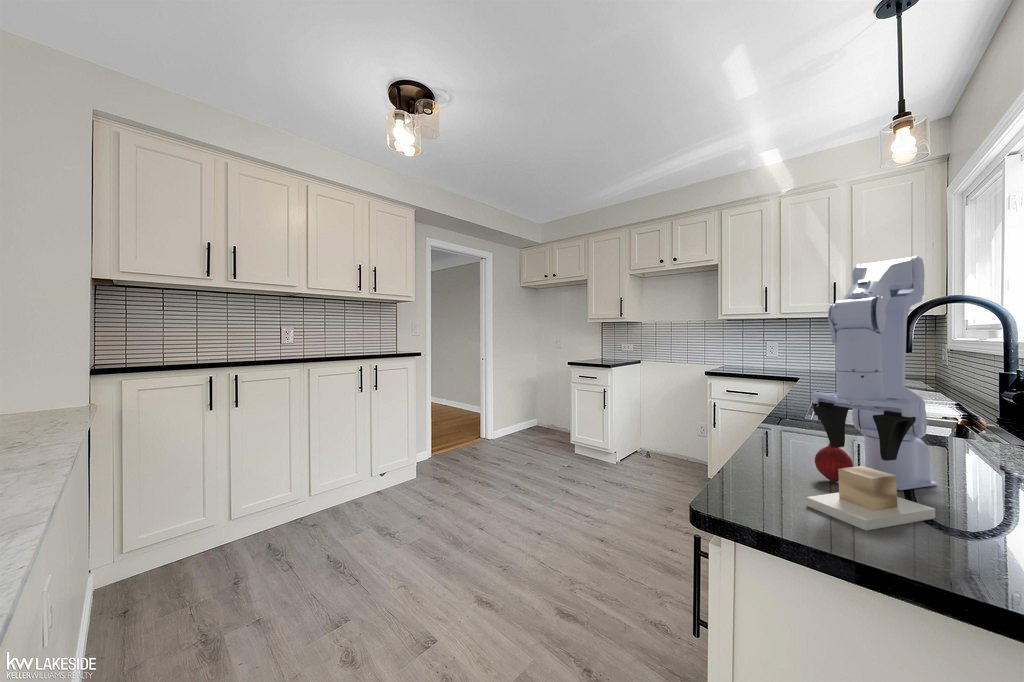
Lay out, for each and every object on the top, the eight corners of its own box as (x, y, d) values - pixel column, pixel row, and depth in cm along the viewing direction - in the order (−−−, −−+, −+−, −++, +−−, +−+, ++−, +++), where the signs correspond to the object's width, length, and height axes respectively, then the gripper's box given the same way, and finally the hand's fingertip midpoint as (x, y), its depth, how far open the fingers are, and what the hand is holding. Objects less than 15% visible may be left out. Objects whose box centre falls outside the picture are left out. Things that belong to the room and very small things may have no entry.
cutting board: (870, 496, 68) (870, 487, 68) (935, 518, 60) (935, 508, 60) (806, 505, 65) (806, 497, 65) (865, 530, 57) (865, 520, 57)
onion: (861, 488, 72) (859, 445, 72) (826, 487, 73) (824, 445, 73) (841, 477, 78) (839, 438, 78) (809, 476, 79) (807, 437, 79)
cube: (862, 495, 66) (861, 465, 66) (897, 507, 61) (896, 475, 61) (839, 498, 64) (838, 468, 65) (873, 510, 60) (871, 478, 60)
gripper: (797, 369, 70) (800, 444, 70) (892, 375, 55) (896, 469, 55) (828, 367, 71) (831, 440, 71) (928, 373, 57) (931, 464, 57)
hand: (861, 453), depth 63 cm, fingers open, 7 cm apart
